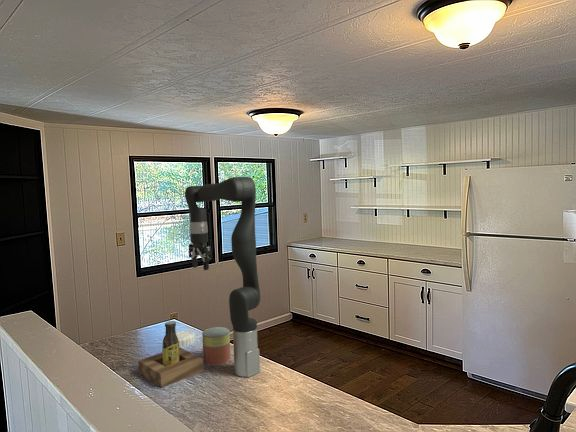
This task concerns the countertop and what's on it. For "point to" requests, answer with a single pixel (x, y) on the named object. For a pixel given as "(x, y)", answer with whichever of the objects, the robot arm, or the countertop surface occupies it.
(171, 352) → the sauce bottle
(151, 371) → the square wooden frame
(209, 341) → the canned food
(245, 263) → the robot arm
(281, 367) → the countertop surface
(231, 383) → the countertop surface
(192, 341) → the cream scalloped thick disc
